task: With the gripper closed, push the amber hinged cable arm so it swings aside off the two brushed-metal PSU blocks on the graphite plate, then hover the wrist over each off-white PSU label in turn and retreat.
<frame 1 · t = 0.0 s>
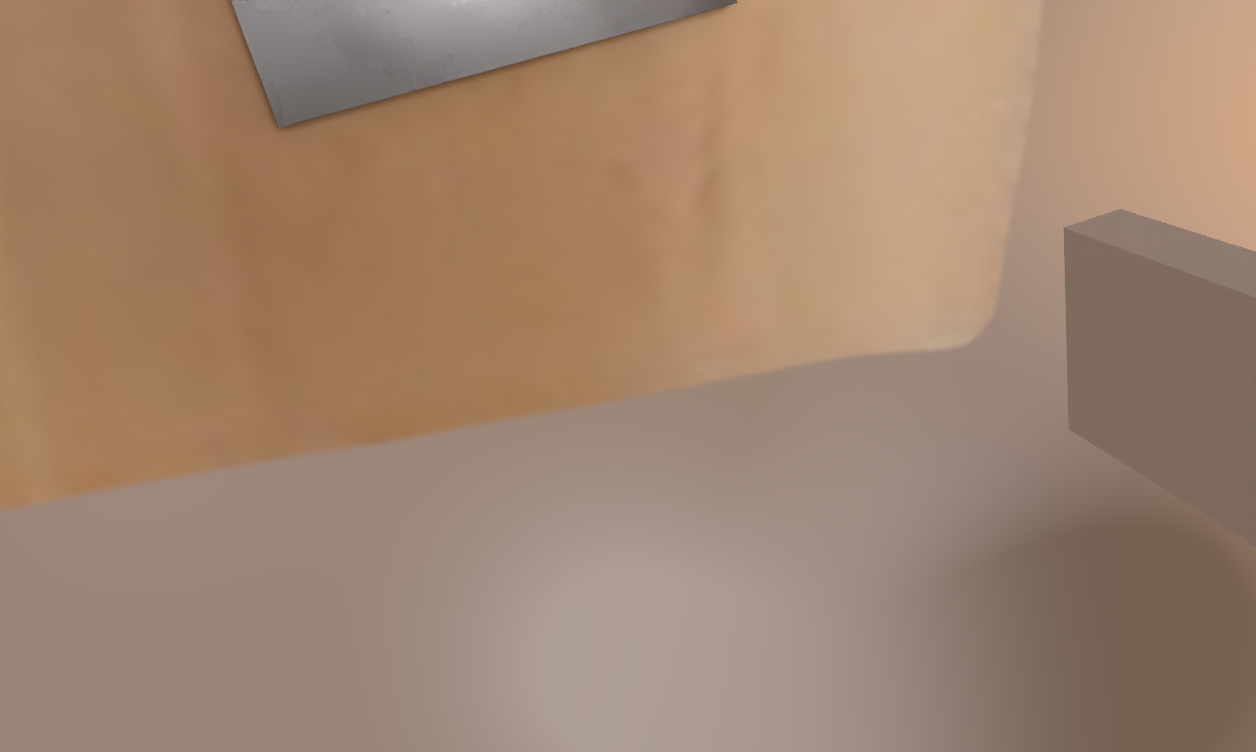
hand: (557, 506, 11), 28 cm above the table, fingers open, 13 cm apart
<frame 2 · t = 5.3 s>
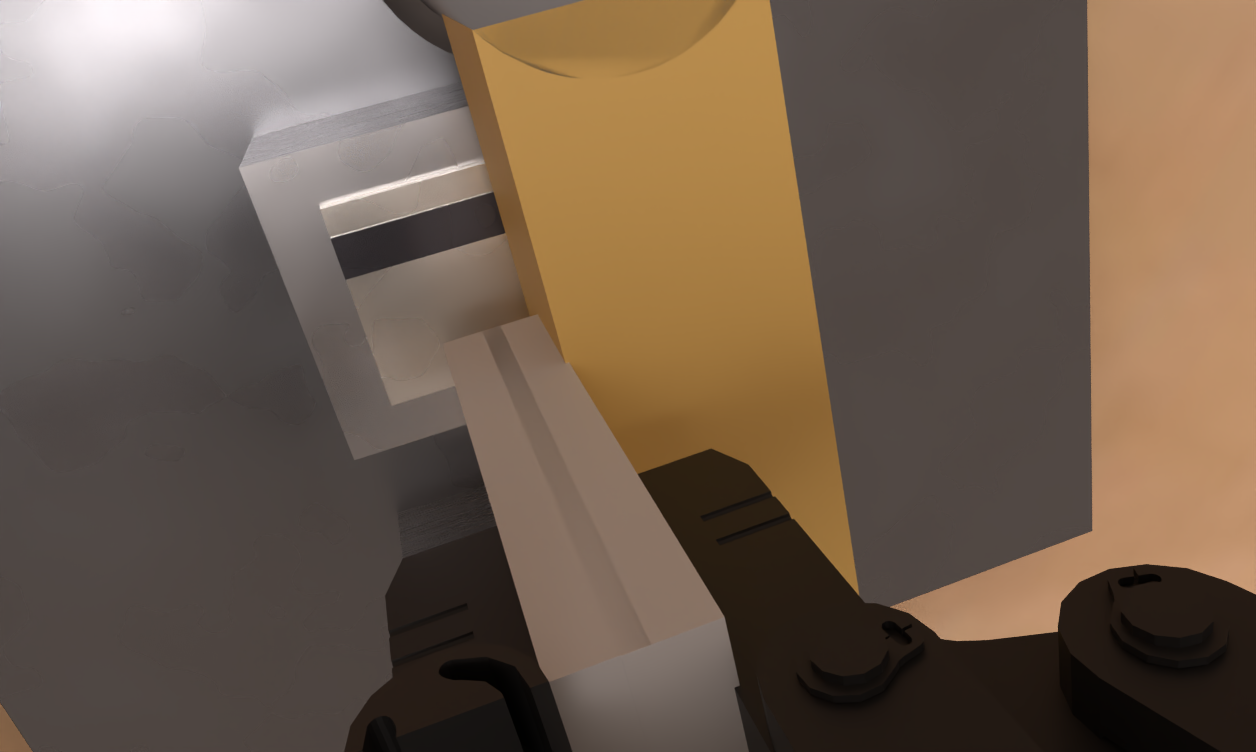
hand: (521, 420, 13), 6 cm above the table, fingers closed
cable arm: (665, 423, 15), point 4 cm above the table, hinge at 0.5°, touching gripper
chassis plate: (539, 327, 18), on the table
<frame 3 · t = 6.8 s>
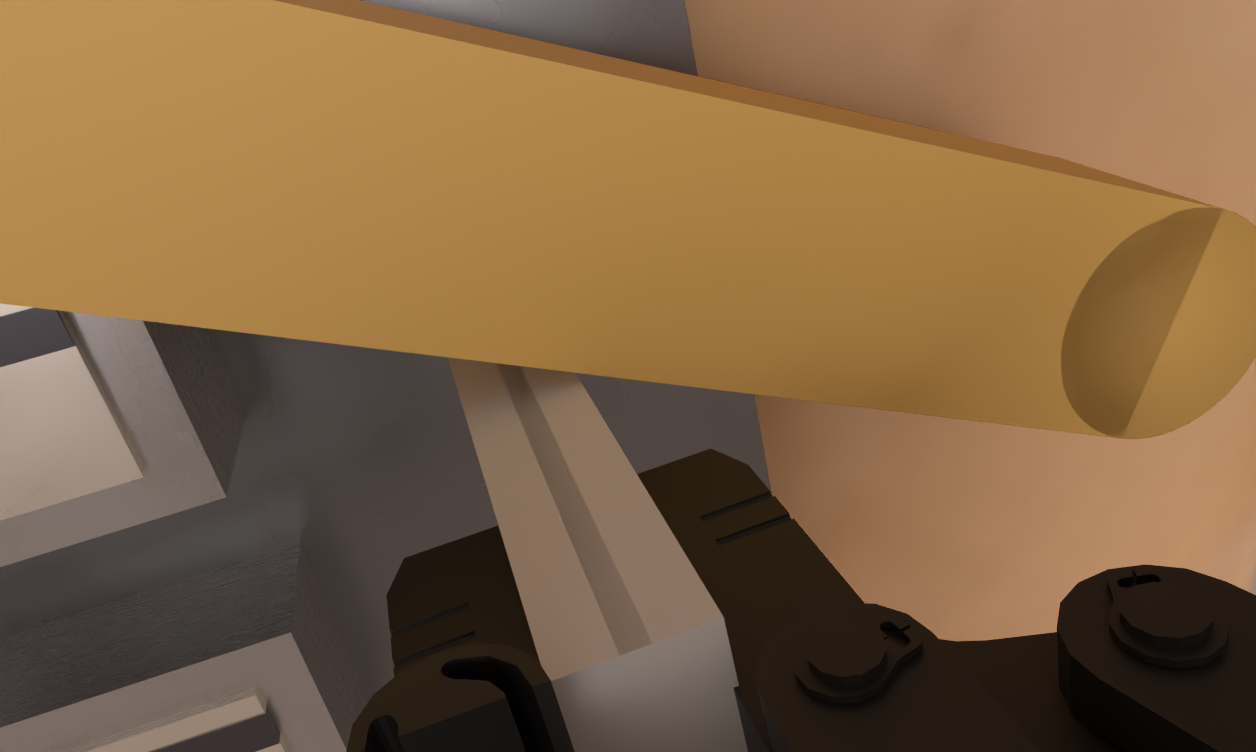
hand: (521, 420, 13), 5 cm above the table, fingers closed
cable arm: (521, 167, 12), point 4 cm above the table, hinge at 64.3°, touching gripper
chassis plate: (109, 451, 17), on the table
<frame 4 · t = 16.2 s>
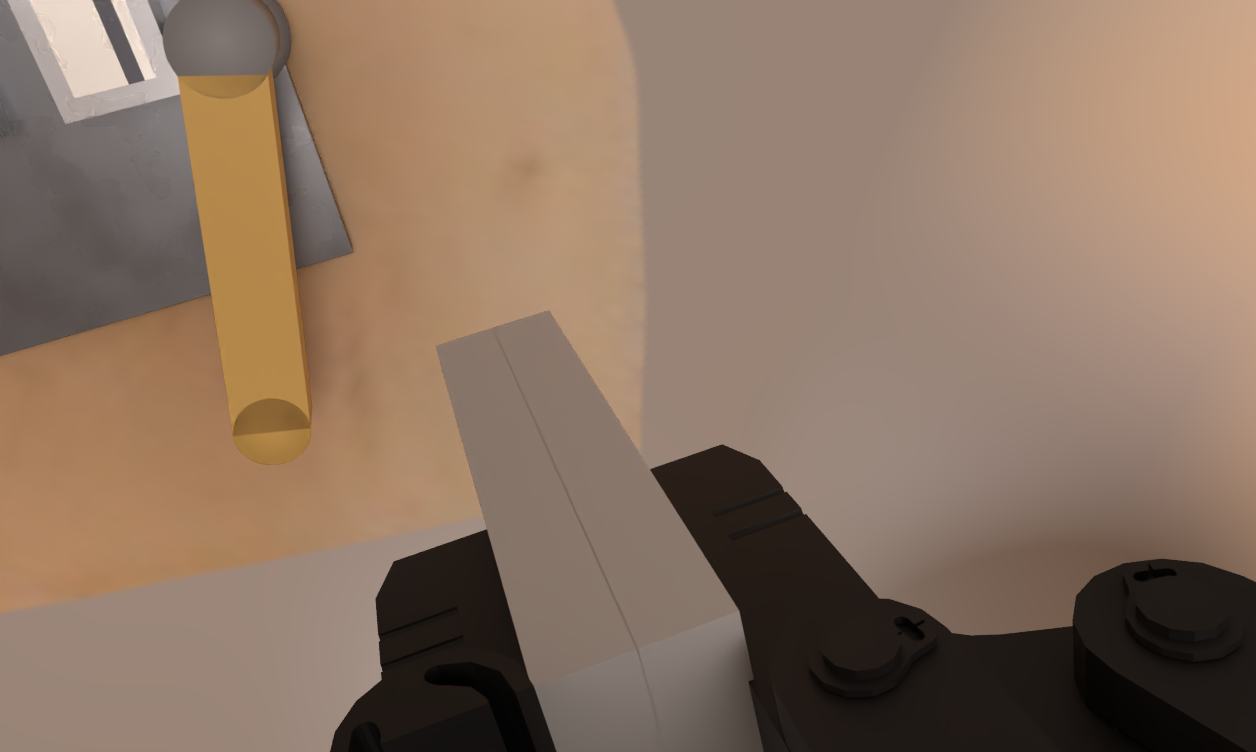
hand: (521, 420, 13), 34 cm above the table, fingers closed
cable arm: (252, 231, 40), point 4 cm above the table, hinge at 76.3°
chassis plate: (50, 51, 39), on the table
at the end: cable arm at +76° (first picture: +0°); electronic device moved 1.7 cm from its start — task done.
